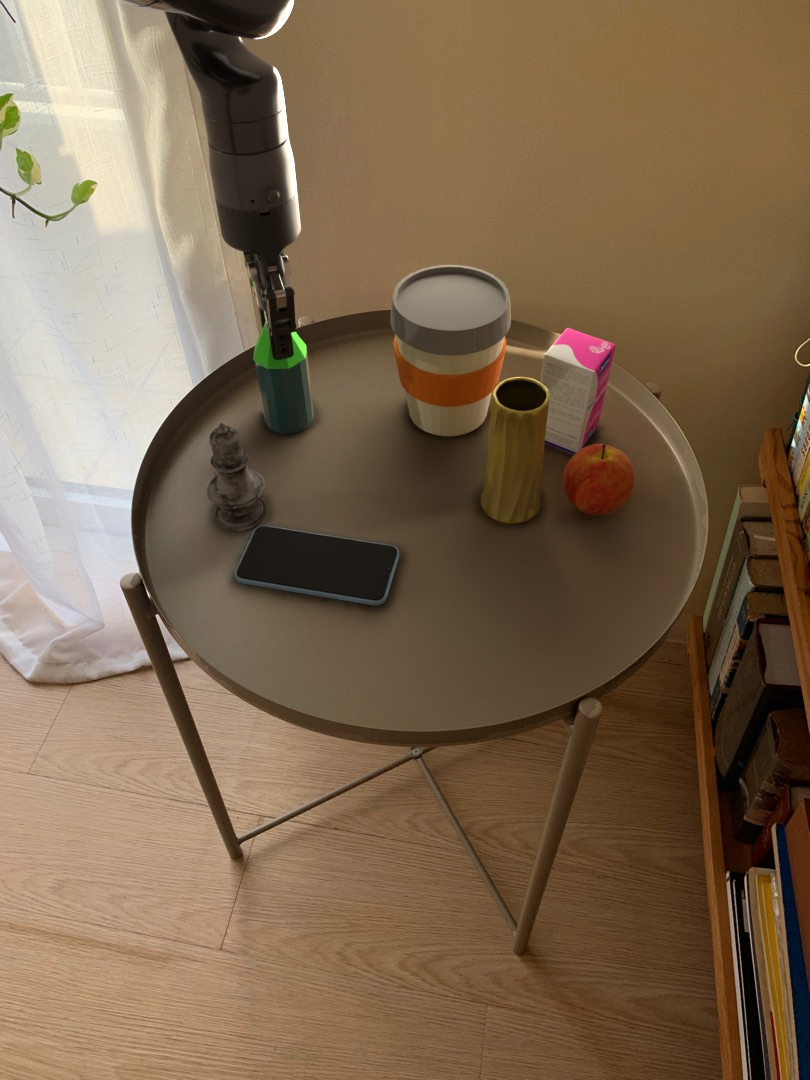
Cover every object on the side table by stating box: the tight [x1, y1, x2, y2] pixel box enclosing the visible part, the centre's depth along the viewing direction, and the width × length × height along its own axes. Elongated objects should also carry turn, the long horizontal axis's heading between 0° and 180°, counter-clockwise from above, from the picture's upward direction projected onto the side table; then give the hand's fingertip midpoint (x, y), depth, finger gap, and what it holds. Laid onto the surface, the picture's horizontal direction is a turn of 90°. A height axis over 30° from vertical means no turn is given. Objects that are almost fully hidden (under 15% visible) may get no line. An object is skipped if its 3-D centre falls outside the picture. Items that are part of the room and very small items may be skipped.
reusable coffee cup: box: [390, 264, 512, 437], centre depth 96 cm, size 13×13×15 cm
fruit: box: [562, 443, 635, 516], centre depth 88 cm, size 7×7×8 cm
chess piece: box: [205, 422, 268, 532], centre depth 87 cm, size 6×6×12 cm
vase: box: [480, 376, 550, 525], centre depth 86 cm, size 6×6×14 cm
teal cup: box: [252, 349, 315, 435], centre depth 98 cm, size 6×6×9 cm
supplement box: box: [539, 327, 617, 456], centre depth 94 cm, size 6×6×12 cm
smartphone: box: [234, 525, 400, 606], centre depth 86 cm, size 7×1×15 cm
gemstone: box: [252, 322, 307, 369], centre depth 92 cm, size 6×6×6 cm
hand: (277, 342), depth 93 cm, fingers closed on gemstone, 4 cm apart
